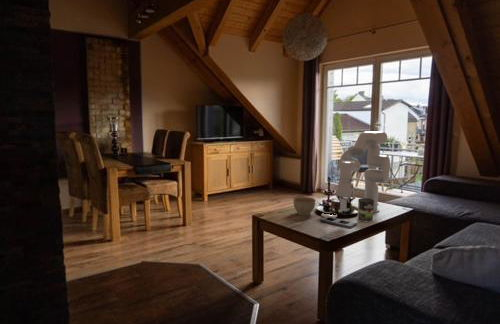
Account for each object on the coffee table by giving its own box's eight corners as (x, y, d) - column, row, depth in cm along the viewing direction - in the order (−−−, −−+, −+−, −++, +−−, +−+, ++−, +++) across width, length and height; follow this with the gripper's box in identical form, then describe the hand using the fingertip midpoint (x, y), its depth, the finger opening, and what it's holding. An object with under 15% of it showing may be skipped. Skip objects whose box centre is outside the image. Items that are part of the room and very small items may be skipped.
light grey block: (343, 208, 243) (343, 197, 242) (349, 210, 240) (349, 198, 239) (340, 210, 240) (340, 198, 239) (346, 211, 237) (346, 199, 236)
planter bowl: (308, 218, 254) (309, 203, 252) (288, 214, 263) (289, 200, 261) (319, 213, 266) (319, 199, 264) (299, 209, 276) (300, 195, 274)
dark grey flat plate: (327, 218, 254) (327, 216, 254) (356, 225, 240) (356, 223, 239) (320, 221, 248) (320, 219, 248) (350, 228, 233) (350, 226, 233)
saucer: (326, 212, 267) (326, 211, 267) (339, 215, 260) (339, 214, 260) (318, 216, 259) (318, 215, 259) (331, 219, 252) (331, 218, 252)
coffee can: (375, 221, 247) (376, 201, 245) (361, 222, 245) (362, 202, 243) (368, 217, 257) (369, 197, 255) (354, 218, 255) (355, 198, 253)
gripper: (360, 181, 234) (359, 208, 237) (336, 177, 245) (336, 203, 248) (354, 183, 228) (354, 211, 231) (331, 179, 239) (330, 206, 243)
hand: (344, 206), depth 240 cm, fingers closed on light grey block, 4 cm apart
